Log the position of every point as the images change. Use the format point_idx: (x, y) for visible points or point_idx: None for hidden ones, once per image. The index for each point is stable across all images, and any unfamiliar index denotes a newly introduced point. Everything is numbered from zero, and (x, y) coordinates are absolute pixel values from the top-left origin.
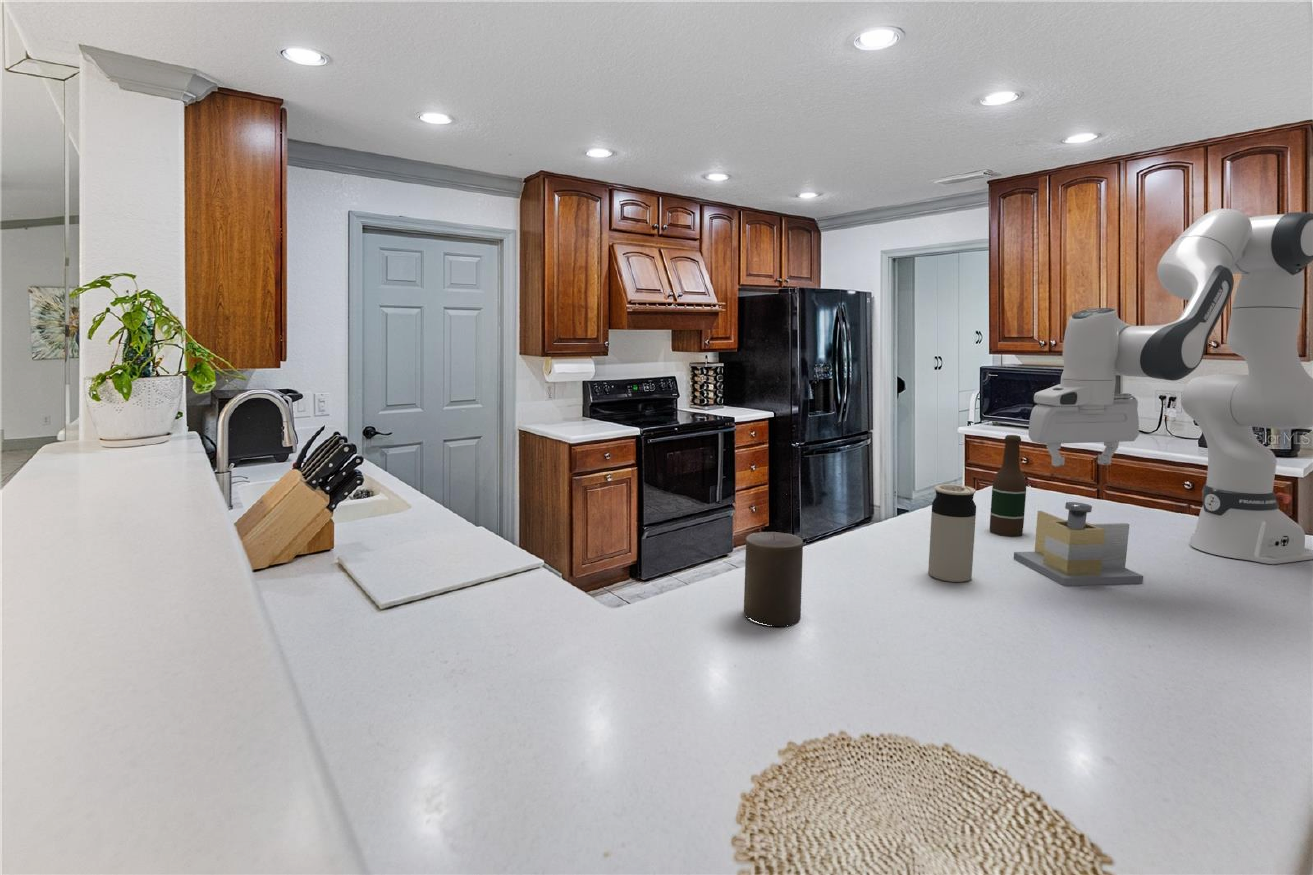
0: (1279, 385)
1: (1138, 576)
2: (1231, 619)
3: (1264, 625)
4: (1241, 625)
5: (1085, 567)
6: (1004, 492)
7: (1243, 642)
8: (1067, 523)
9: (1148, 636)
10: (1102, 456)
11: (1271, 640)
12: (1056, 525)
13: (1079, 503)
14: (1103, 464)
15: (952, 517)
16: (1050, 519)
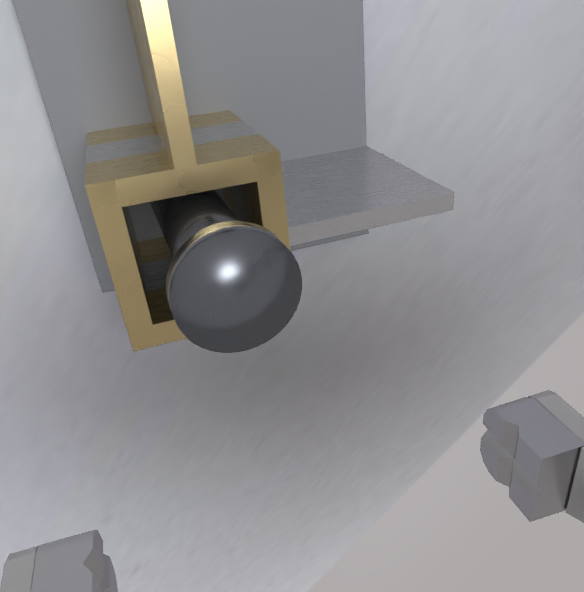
0: None
1: (352, 236)
2: (383, 416)
3: (418, 429)
4: (377, 439)
5: None
6: None
7: (319, 507)
8: (172, 242)
9: (159, 533)
10: (530, 497)
11: (373, 487)
12: (107, 260)
13: (261, 260)
14: (486, 453)
15: None
16: (152, 69)
